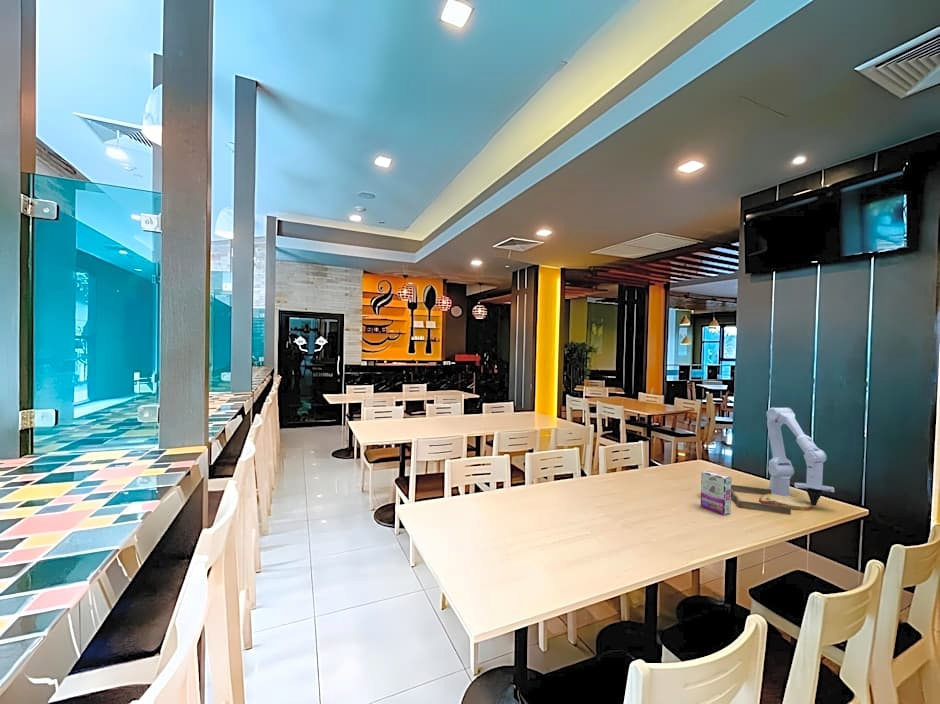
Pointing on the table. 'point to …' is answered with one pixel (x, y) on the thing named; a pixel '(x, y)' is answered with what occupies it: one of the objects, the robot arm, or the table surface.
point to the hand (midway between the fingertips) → (813, 504)
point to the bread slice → (786, 502)
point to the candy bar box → (716, 492)
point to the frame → (756, 505)
